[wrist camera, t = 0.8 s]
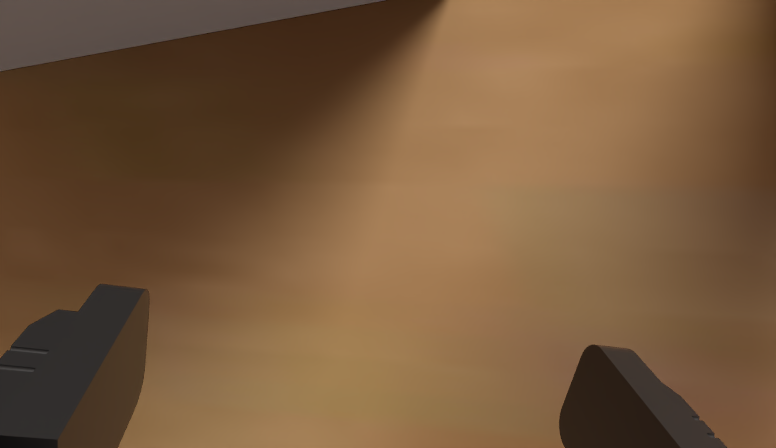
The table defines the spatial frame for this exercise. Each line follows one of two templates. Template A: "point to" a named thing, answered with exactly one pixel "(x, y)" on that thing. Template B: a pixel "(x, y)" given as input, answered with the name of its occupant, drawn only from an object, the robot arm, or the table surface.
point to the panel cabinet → (128, 23)
